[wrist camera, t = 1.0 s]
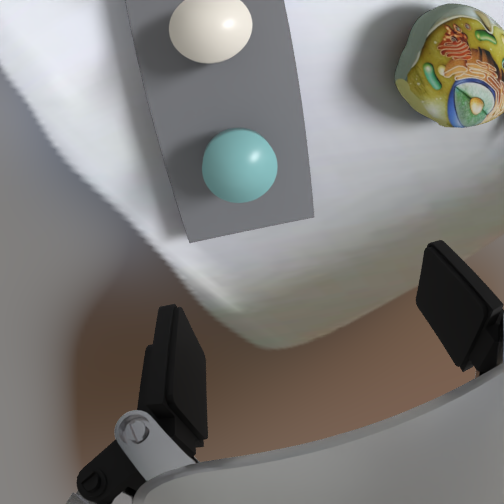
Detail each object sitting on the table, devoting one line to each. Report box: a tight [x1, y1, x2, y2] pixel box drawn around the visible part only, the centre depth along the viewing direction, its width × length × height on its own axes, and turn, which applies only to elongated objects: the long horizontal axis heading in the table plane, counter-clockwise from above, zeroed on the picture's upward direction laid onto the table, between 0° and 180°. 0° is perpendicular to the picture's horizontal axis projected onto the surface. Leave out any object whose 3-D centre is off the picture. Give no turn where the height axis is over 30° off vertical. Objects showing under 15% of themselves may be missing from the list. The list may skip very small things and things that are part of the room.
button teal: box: [202, 127, 278, 203], centre depth 19 cm, size 5×5×2 cm
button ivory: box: [169, 0, 252, 64], centre depth 14 cm, size 5×5×2 cm
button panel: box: [125, 0, 314, 243], centre depth 16 cm, size 30×10×2 cm, turn 10°
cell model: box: [395, 4, 504, 128], centre depth 16 cm, size 11×8×15 cm
